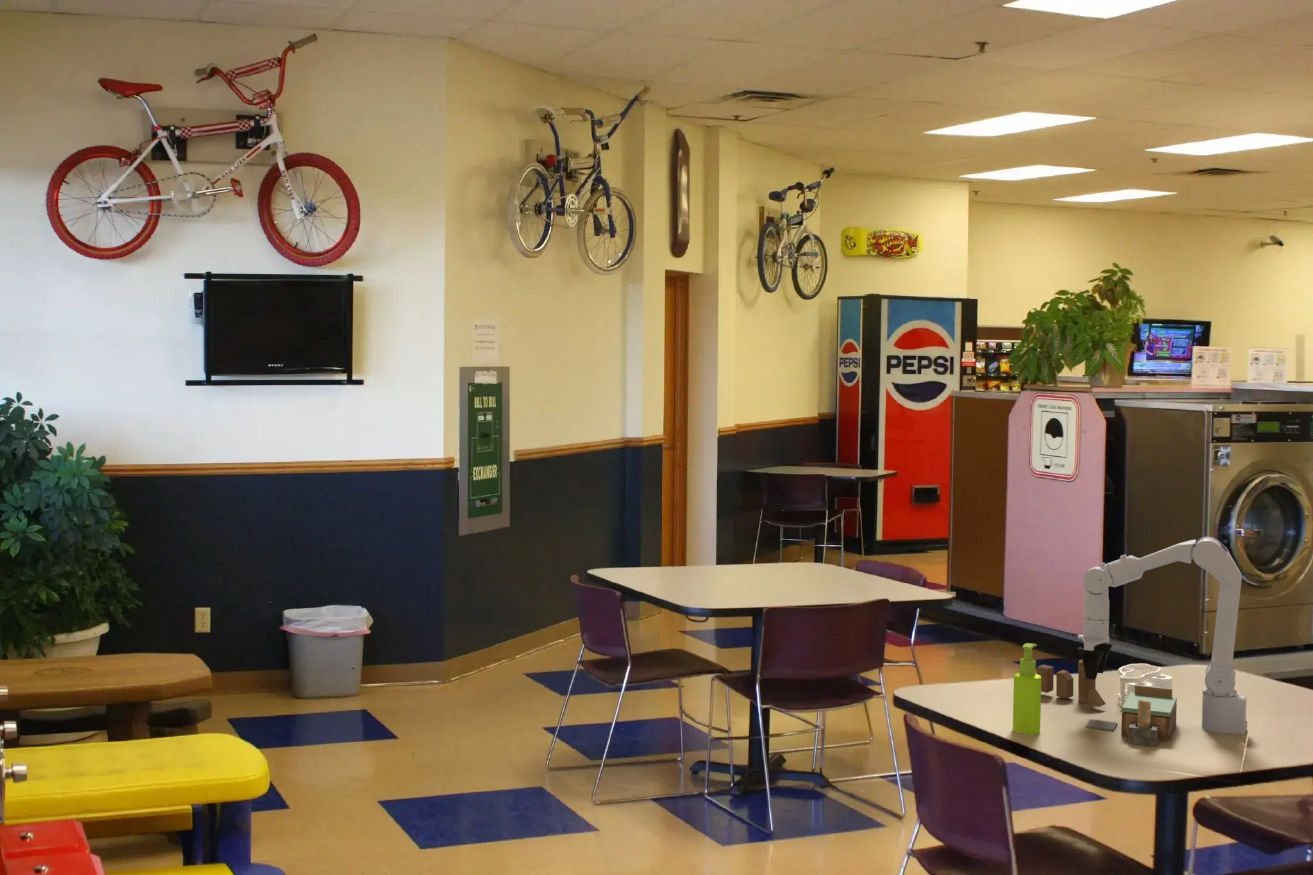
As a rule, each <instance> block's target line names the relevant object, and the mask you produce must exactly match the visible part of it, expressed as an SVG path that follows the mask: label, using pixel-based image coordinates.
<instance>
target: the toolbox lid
mask: <svg viewBox="0 0 1313 875" xmlns="http://www.w3.org/2000/svg"><path fill="white" fill-rule="evenodd" d="M1138 700H1149V701H1151V715H1155V716H1163V717H1170V716H1171V714H1172V711H1173V709H1174V707H1175V704H1176V703H1177V701H1178V697H1176V696H1173V687H1172V688H1164V687H1155V686H1145V685H1135V693H1133V692H1131V693H1130V695H1129V696H1128V698H1127V700H1126V701H1125V703H1124V705H1123V706H1122V707H1121V713H1122V712H1129V713H1137V714H1138Z"/></svg>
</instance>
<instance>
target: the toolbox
mask: <svg viewBox="0 0 1313 875" xmlns="http://www.w3.org/2000/svg"><path fill="white" fill-rule="evenodd" d="M1177 704H1178V703H1177V702H1176V704H1175V707H1174V709H1173V711H1172V714H1171V716H1170V717H1163V716H1155V715H1150V728H1141V727H1137V726H1138V714H1137V713H1129V712H1122V711H1121V730H1120V731H1121V732H1120V735H1121V736H1125V737H1127V738H1128V742H1127V743H1128V744H1133V745H1140V746H1148V747H1149V746H1150V747H1156V746H1157V744H1158V742H1159V741H1163V742H1164V741H1165V742H1170V741H1171V738H1172V735H1173V733H1174V732H1175V728H1176V725H1177Z"/></svg>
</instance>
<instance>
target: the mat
mask: <svg viewBox="0 0 1313 875" xmlns="http://www.w3.org/2000/svg"><path fill="white" fill-rule="evenodd" d="M1117 726H1118V722H1116V721H1108V720H1107V721H1106V720H1098V719H1089V720H1088V722H1087V724H1086V725H1085V728H1089V729H1095V730H1101V731H1109V732H1114V731H1115V730H1116V728H1117Z"/></svg>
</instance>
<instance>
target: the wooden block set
mask: <svg viewBox="0 0 1313 875" xmlns="http://www.w3.org/2000/svg"><path fill="white" fill-rule="evenodd" d="M1077 667H1078V672H1077V674H1078V675H1077V676H1078V694H1077V696H1078V699H1077V700H1078V702H1079V703H1082V704H1085V705H1088V706H1093V707H1098V708H1100V707H1102V706H1105V705H1107V703H1106V702H1105V700H1104V699H1103V698H1102V696H1101V695H1100V693H1099V691H1097V689H1096V688H1097V687H1096V685H1097V684H1096V682H1097V681H1096V679H1097V678H1096V679H1095V680H1094V679H1086V675H1085V670H1084V665H1083V661H1082V659H1079V660H1078V666H1077ZM1036 674H1038V675H1040V676H1041V693H1046V694H1048V693H1050V692H1052V691H1054V690H1055V689H1054V688H1056V692H1055V693H1056V694H1055V695H1056V697H1057V698H1061V699H1066V700H1067V699H1069V698H1071V697H1074V677H1073V676H1072V674H1071V673H1070V672H1069V671H1068V670H1065V669H1062V670H1059V671H1057V672H1056V674H1055V675H1056V677H1055V678H1056V680H1055V681H1056V683H1055V684H1056V687H1055V686H1054V666H1052V665H1047V664H1041V665H1039V666H1037V667H1036Z"/></svg>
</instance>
